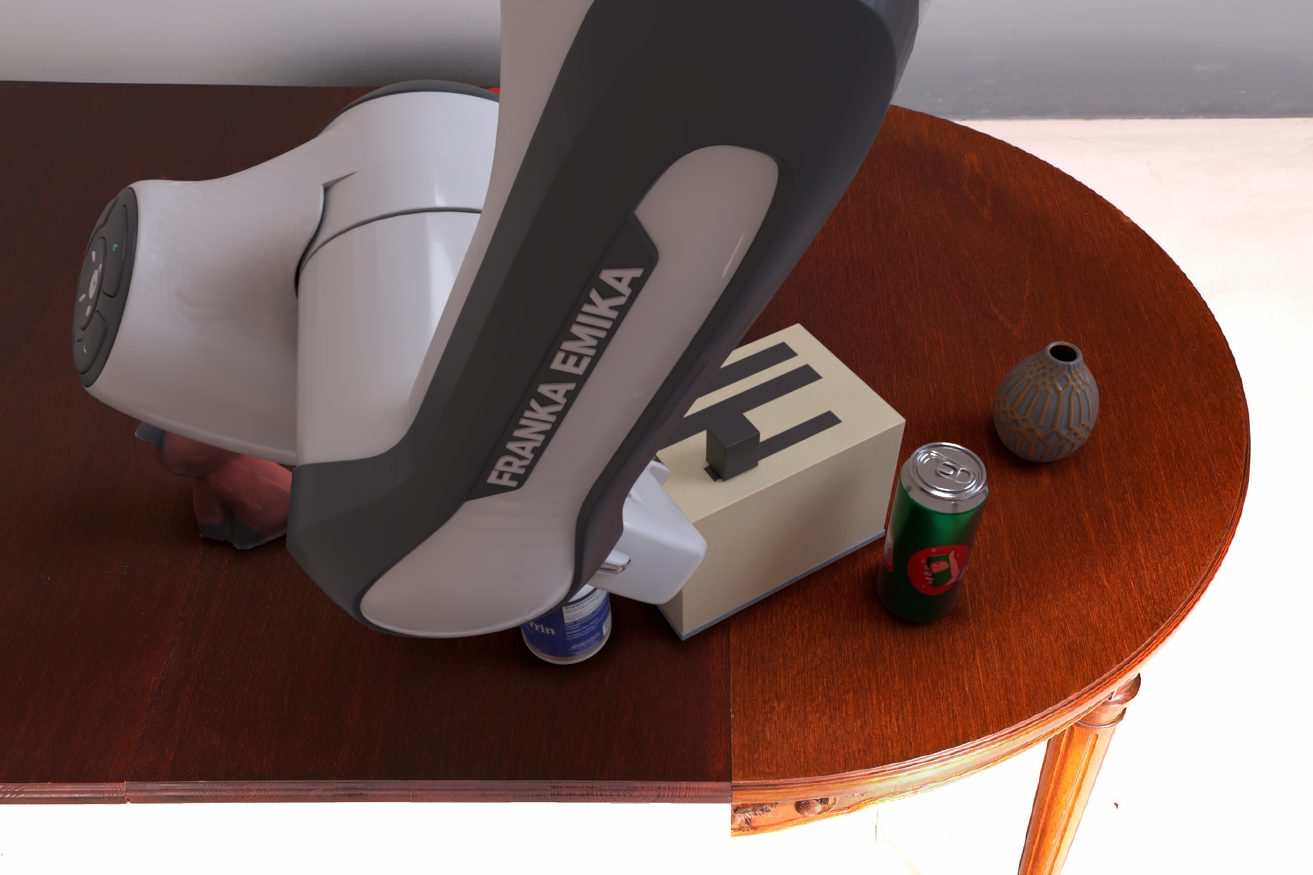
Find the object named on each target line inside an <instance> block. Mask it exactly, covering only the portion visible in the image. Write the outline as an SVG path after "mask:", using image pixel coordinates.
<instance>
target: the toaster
mask: <svg viewBox="0 0 1313 875" xmlns="http://www.w3.org/2000/svg"><path fill="white" fill-rule="evenodd" d="M739 412H742V413H743V415H744V416H745V417H746V418H747V419H748V420H749V421H750V422H751V423H752V424H753V425H754V426H755V427H756V428H757V429H758V430H759V431H760V445H759V460H758V466H756V467H754V468H752V469H750V470H748V471H746V472H743V473H741V474H739V475H737V476H735V477H733V478H731V479H729V480H726V481H723V479H722V478H721V477H720V476H719V475H718V474H717V473H716V471H715V470H714V469H713V468H712V467H711V466H710V465H709V463H708V462H707V461H706V428H707V427H708V426H710V425H712V424H715V423H717V422H719V421H721V420H724V419H726V418H728V417H730V416H733V415H735V414H737V413H739ZM905 425H906V419H905V418H904V417H903V416H902V415H901V414H900V413H898V412H897V410H895V409H894V408H893V407H892V406H891V405H890V404H888V402H886V401H885V400H884V399H883V398H882V397H881V396H880V395H879V394H878V393H877V392H875V390H874V389H872V388H871V387H870V386H869V385H868V384H867V383H865V381H863V380H862V379H861V378H860V377H859V376H858V375H857V374H856V373H855V372H854V371H852V370H851V369H850V368H849V367H848V366H847V365H846V364H844V362H842V360H840V359H839V358H838V357H837V356H835V354H833V353H832V352H831V351H830V350H829V349H828V348H827V347H826V346H824V345H823V344H822V343H821V342H820V341H819V340H818V339H817V338H815V336H813V335H812V334H811V333H810V332H809V331H808V330H807V329H806V328H805V327H804V326H802V325H801V324H800V323H796V324H793V325H791V326H788V327H786V328H783V329H781V330H779V331H776V332H774V333H772V334H769V335H767V336H764V337H762V338H759V339H757V340H755V341H751V342H750V343H747V344H745V345H743V346H740V347H738V348H735V349H734V350H733V351H732V353H731V354H730V355H729V357H728V358H727V359H726V361H725V362H724V363H723V365H722V366H721V367H720V369H719V370H718V372H717V373H716V374H715V376H714V377H713V378H712V380H711V381H710V382H709V384H708V385H707V386H706V388H705V389H704V390H703V392H702V393H701V394H700V396H699V397H698V398H697V400H696V401H695V402H694V404H693V405H692V406H691V408H690V409H689V410H688V412H687V413H686V414H685V416H684V417H683V418H682V420H681V421H680V423H679V424H678V425H677V427H676V428H675V429H674V431H673V432H672V433H671V435H670V436H669V437H668V439H667V440H666V441H665V443H664V444H663V445H662V447H661V448H660V449H659V451H658V452H657V453H656V455H657V457H658V458H659V459H660V460H661V461H662V462H663V463H664V465H665V466H666V467H667V468H668V470H669V471H670V476H669V478H668V479H667V481H666V482H665V483H664V484H663V486H662V487H663V489H664V490H665V491H666V492H667V493H668V495H669V496H670V497H671V498H672V500H673V501H674V502H675V503H676V505H677V506H678V507H679V508H680V509H681V511H682V512H683V513H684V514H685V516H686V517H687V518H688V519H689V520H690V522H691V523H692V524H693V525H694V527H695V528H696V529H697V530H698V531H699V532H700V534H701V535H702V536H703V538H704V539H705V541H706V543H707V551H706V554H705V557H704V559H703V561H702V563H701V565H700V566H699V568H698V569H697V571H696V572H695V573H694V575H693V576H692V577H691V578H690V580H689V581H688V582H687V583H686V585H685V586H684V587H683V588H682V589H681V590H680V591H679V592H678V593H677V594H676V595H675V596H674V597H673V598H672V599H671V600H670V601H668V602H666V603H664V604H659V605H658V604H655V606H656V608H657V609H658V610H659V611H660V613H661V614H662V616H663V617H664V618H665V620H666V621H667V622H668V624H669V625H670V626H671V629H673V630H674V632H675V634H676V635H677V636H678V638H679V639H680V640H681V642H683V641H685V640H687V639H689V638H691V637H693V636H694V635H696V634H699V633H701V632H702V631H704V630H707V629H708V628H710V627H712V626H714V625H715V624H718V623H719V622H721V621H724V620H725V619H727V618H729V617H731V616H733V615H735V614H736V613H739V612H741V611H743V610H744V609H746V608H748V607H750V606H752V605H754V604H756V603H758V602H760V601H762V600H764V599H766V598H768V597H770V596H771V595H773V594H775V593H777V592H779V591H781V590H783V589H784V588H786V587H789V586H791V585H793V584H794V583H796V582H798V581H800V580H802V579H804V578H806V577H808V576H810V575H812V574H813V573H816V572H817V571H819V570H821V569H824V568H825V567H827V566H829V565H831V564H833V563H835V562H836V561H837V562H838V560H840V559H842V558H845V557H846V556H848V555H850V554H851V553H853V552H856V551H858V550H859V549H861V548H863V547H865V546H867V545H869V544H871V543H873V542H875V541H877V540H879V539H881V538H882V537H884V536H886V529H885V523H886V519H887V515H888V514H887V513H888V509H889V505H890V500H891V495H892V489H893V485H894V479H895V475H896V469H897V466H898V460H899V455H900V450H901V446H902V442H903V441H902V440H903V437H904V436H903V435H904V430H905Z"/></svg>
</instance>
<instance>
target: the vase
mask: <svg viewBox="0 0 1313 875" xmlns="http://www.w3.org/2000/svg"><path fill="white" fill-rule="evenodd" d="M1099 409H1100V395H1099V388H1098V385H1097V382H1096V380H1095V377H1094V376H1093V374H1092V373H1091V371H1090V369H1089V368H1088V366H1087V365H1086V364H1085V361H1084V358H1083V353H1082V351H1081V350H1080V348H1078V346H1076V345H1074V344H1073V343H1070V342H1067V341H1062V340H1061V341H1060V340H1059V341H1058V340H1057V341H1053V342H1050V343H1048V344H1047V345H1046V346H1045V347H1044V348H1042V350H1040V351H1038V352H1036V353H1033V354H1031V355H1028V356H1027V357H1025V358H1023V359H1021V360H1020V361H1019V362H1017V363H1016V364H1014V366H1012V368H1011V369H1010V370H1009V371H1008V372H1007V373H1006V375H1005V376H1004V378H1003V379H1002V380H1001V382H1000V384H999V386H998V389H997V391H996V395H995V398H994V404H993V422H994V427H995V430H996V433H997V436H998V437H999V439H1000V440H1001V442H1002V443H1003V445H1004V446H1005V447H1006V448H1007V449H1008V450H1009V451H1010V452H1012V453H1013V454H1015V455H1016V456H1018V457H1019V458H1021V459H1023V460H1026V461H1030V462H1035V463H1049V462H1056V461H1059V460H1062V459H1064V458H1065V459H1066V458H1067V457H1068V456H1070V455H1072V454H1074V453H1075V452H1077V450H1078V449H1079V448H1081V447H1082V446H1083V445H1084V443H1085V442H1086V441H1087V440H1088V438H1089V437H1090V435H1091V433H1092V431H1093V429H1094V427H1095V424H1096V422H1097V418H1098V415H1099Z"/></svg>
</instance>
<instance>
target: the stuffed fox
mask: <svg viewBox="0 0 1313 875" xmlns="http://www.w3.org/2000/svg"><path fill="white" fill-rule="evenodd" d="M134 436H135V438H137V439H138V440H141V441H144V444H145V446H146V448H147V450H148V451H149V453H150V454H151V456H152V457H153V458H154V459H155V460H156V461H157V462H158V463H159V465H161V466H162V467H164V468H165V470H167V471H168V472H170V473H171V474H173V475H175V476H178V477H184V478H190V479H192V483H193V488H192V500H193V501H192V503H193V509H194V513H195V517H196V520H197V525H198V528H199V530H200V534H199V538H201V537H202V538H204V539H207V538H208V539H214V540H216V541H218V542H224V543H226V544H227V545H229V546H232V547H233V548H235V549H236V550H251V549H252V548H255V547H260V546H262V545H265V544H267V543H268V542H271V541H274V540H275V539H279V538H282V537H285V536H286V535H287V524H288V513H289V502H290V491H291V480H292V471H290V470H289V469H287V468H285V467H283V466H282V465H281V464H280V463H276V462H272V461H268V460H263V459H259V458H255V457H251V456H247V455H244V454H240V453H236V452H232V451H229V450H225V449H222V448H218V447H215V446H212V445H208V444H205V443H202V442H199V441H196V440H193V439H189V438H186V437H183V436H180V435H177V434H175V433H172V432H169V431H166V430H163V429H161V428H158V427H155V426H153V425H150V424H148V423H145V422H143V421H140V423H139V424H137V427H136V430H135V432H134Z"/></svg>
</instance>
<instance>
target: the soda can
mask: <svg viewBox="0 0 1313 875" xmlns="http://www.w3.org/2000/svg"><path fill="white" fill-rule="evenodd" d="M989 494H990V482H989V479H988V477H987V469H986V467H985V464H984V462H983V461H982V460H981V458H980V456H978V455H977V454H975V452H973V451H972V450H970V449H968V448H967V447H964V446H962V445H961V444H956V443H952V442H946V441H937V442H936V441H935V442H930V443H927V444H924V445H921V446H920V447H918V448H916V449H915V450H914V451H913V453H912V454H911V456H910V457H909V458H908V459H906V460H905V462H904V463H903V464H902V466H901V467H900V470H899V474H898V479H897V484H896V487H895V494H894V498H893V503H892V507H891V512H890V517H889V522H888V527H887V532H886V535H885V536H886V537H885V541H884V546H883V551H882V556H881V559H880V566H879V569H878V573H877V574H878V575H877V580H876V592H877V595H878V598H879V599H880V602H881V603H882V605H883V606H884V607H885V608H886V609H887V610H888V611H890V613H892V614H894V615H895V616H897V617H898V618H900V619H903V620H905V621H908V622H913V623H919V624H920V623H932V622H936V621H939V620H941V619H943V618H945V617H946V616H948V615H949V614H950V613H951V612H952V611H953V609H954V607H955V606H956V603H957V600H958V596H959V593H960V590H961V587H962V583H963V580H964V577H965V573H966V570H967V567H968V563H969V561H970V556H971V554H972V550H973V547H974V544H975V541H976V537H977V534H978V531H979V529H980V528H979V527H980V524H981V522H982V518H983V515H984V511H985V508H986V505H987V501H988V498H989Z"/></svg>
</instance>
